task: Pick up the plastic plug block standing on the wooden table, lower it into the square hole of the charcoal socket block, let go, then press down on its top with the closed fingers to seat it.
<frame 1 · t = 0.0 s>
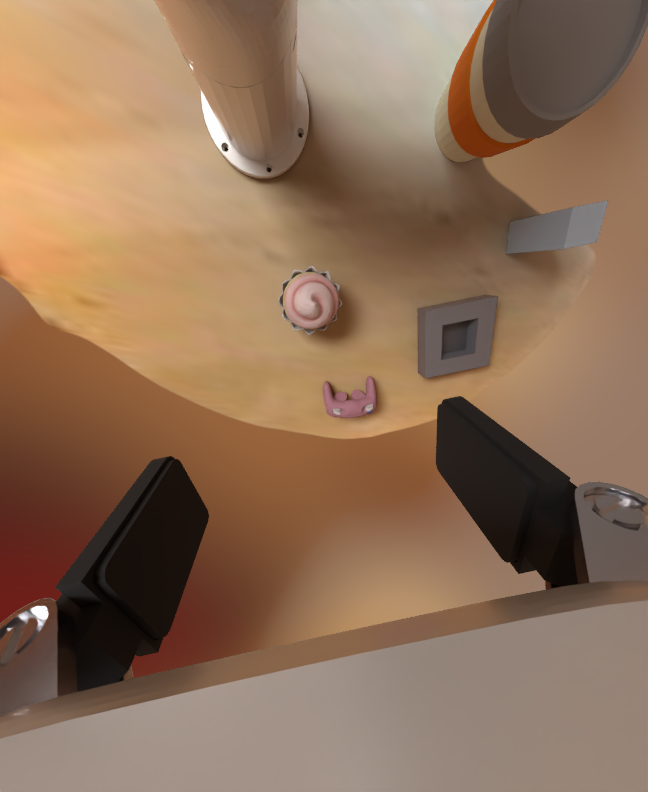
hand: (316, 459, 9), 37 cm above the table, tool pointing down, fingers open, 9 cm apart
plug: (521, 235, 40), on the table
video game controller: (347, 390, 50), on the table
socket: (449, 335, 47), on the table
reusable coffee cup: (466, 119, 34), on the table
cupcake: (309, 298, 42), on the table
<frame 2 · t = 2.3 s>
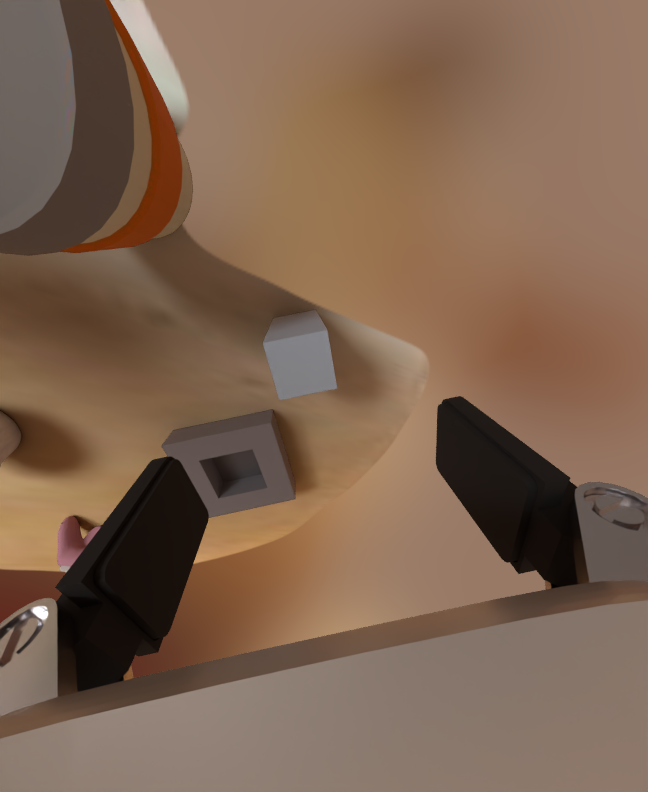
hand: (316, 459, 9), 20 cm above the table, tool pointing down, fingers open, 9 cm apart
plug: (299, 335, 27), on the table
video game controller: (114, 521, 36), on the table
socket: (239, 458, 33), on the table
reusable coffee cup: (133, 173, 20), on the table
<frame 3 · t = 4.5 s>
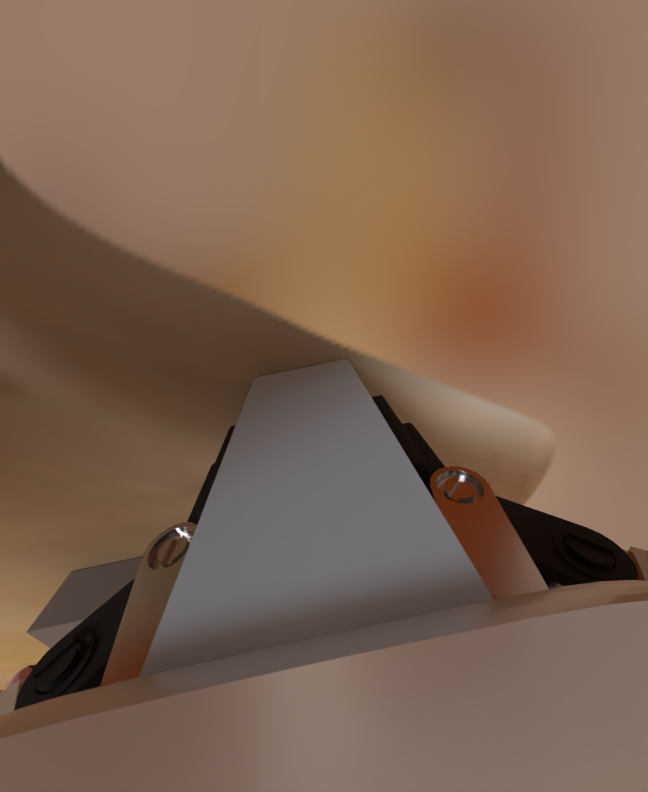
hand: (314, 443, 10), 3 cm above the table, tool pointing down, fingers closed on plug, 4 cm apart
plug: (310, 408, 13), on the table, touching gripper
socket: (202, 600, 19), on the table
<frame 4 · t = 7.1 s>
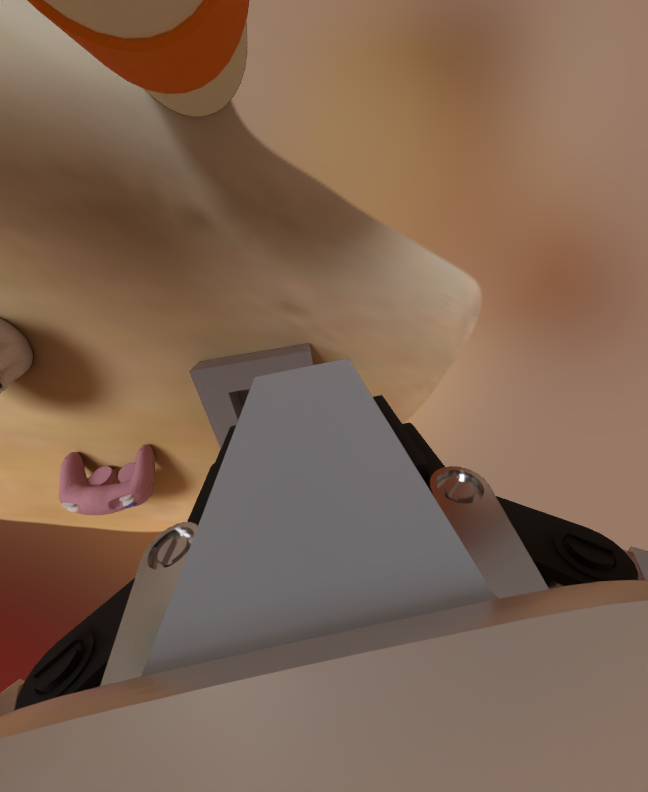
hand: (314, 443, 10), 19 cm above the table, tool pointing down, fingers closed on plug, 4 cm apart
plug: (311, 408, 13), point 16 cm above the table, touching gripper
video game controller: (122, 462, 32), on the table
socket: (268, 400, 30), on the table
reusable coffee cup: (181, 29, 18), on the table
when the fingers open (4 cm above the table, at t = 10.0 s): plug drops 1 cm, resting on socket.
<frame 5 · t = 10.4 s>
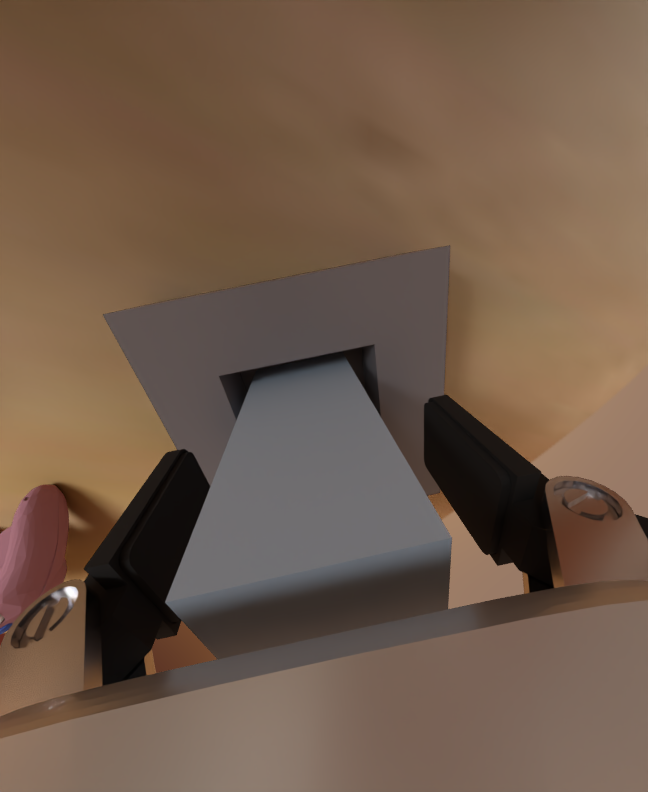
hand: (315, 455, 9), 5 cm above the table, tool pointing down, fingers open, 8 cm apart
plug: (308, 398, 14), resting on socket
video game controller: (9, 519, 16), on the table
socket: (309, 396, 14), on the table
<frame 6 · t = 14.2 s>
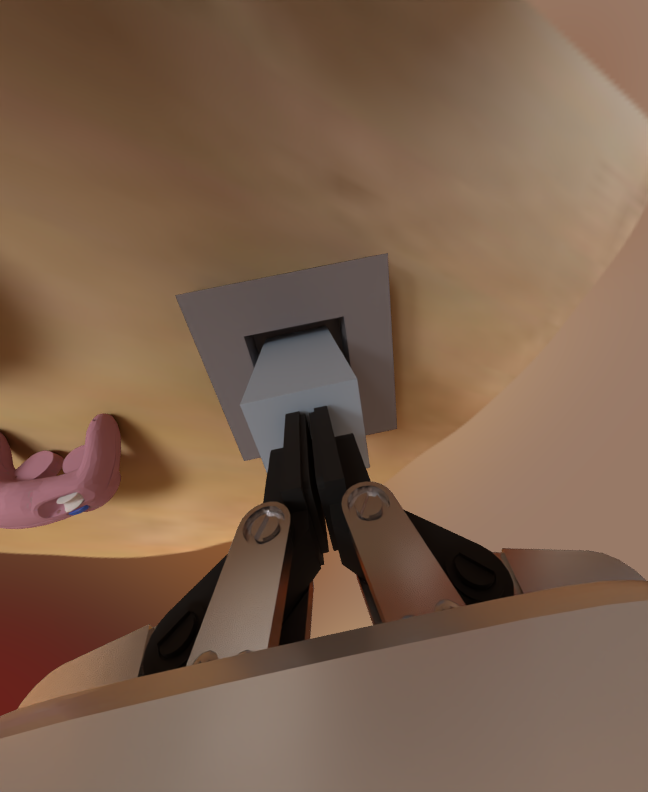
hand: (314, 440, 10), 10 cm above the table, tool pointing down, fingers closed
plug: (302, 360, 19), resting on socket, touching gripper
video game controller: (73, 445, 21), on the table
socket: (303, 359, 20), on the table
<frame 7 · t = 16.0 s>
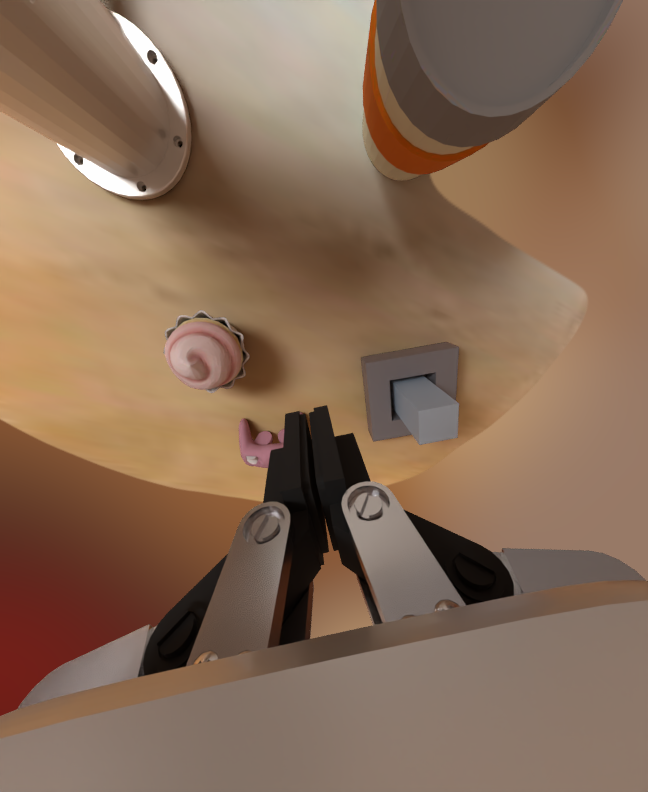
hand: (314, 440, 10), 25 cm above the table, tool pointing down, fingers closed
plug: (405, 390, 37), resting on socket
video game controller: (275, 429, 39), on the table
socket: (405, 389, 37), on the table
reusable coffee cup: (405, 126, 26), on the table
cupcake: (220, 344, 33), on the table
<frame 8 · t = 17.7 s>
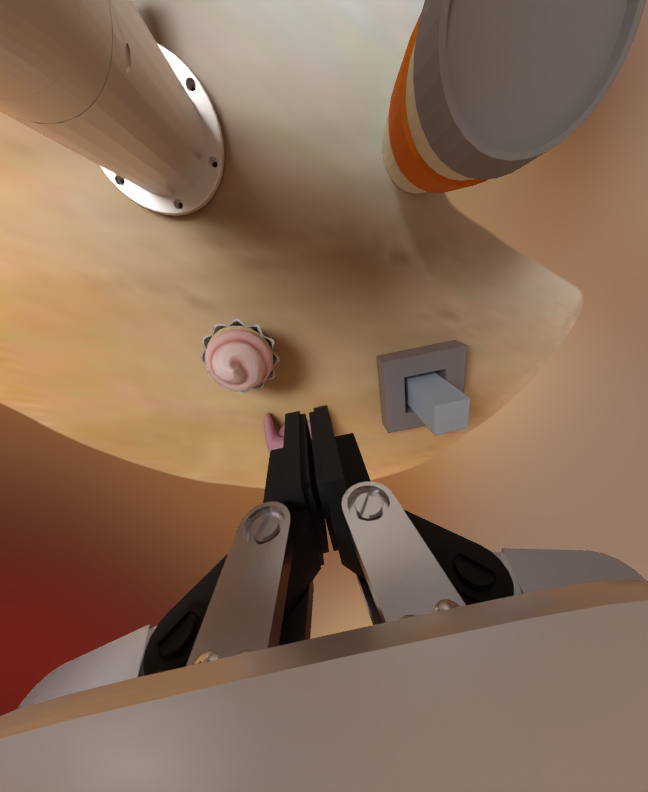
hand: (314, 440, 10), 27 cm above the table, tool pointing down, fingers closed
plug: (417, 385, 40), resting on socket
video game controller: (296, 422, 42), on the table
socket: (416, 384, 41), on the table
reusable coffee cup: (421, 143, 28), on the table
cupcake: (247, 347, 36), on the table
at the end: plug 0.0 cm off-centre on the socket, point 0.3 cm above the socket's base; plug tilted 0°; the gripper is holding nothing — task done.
